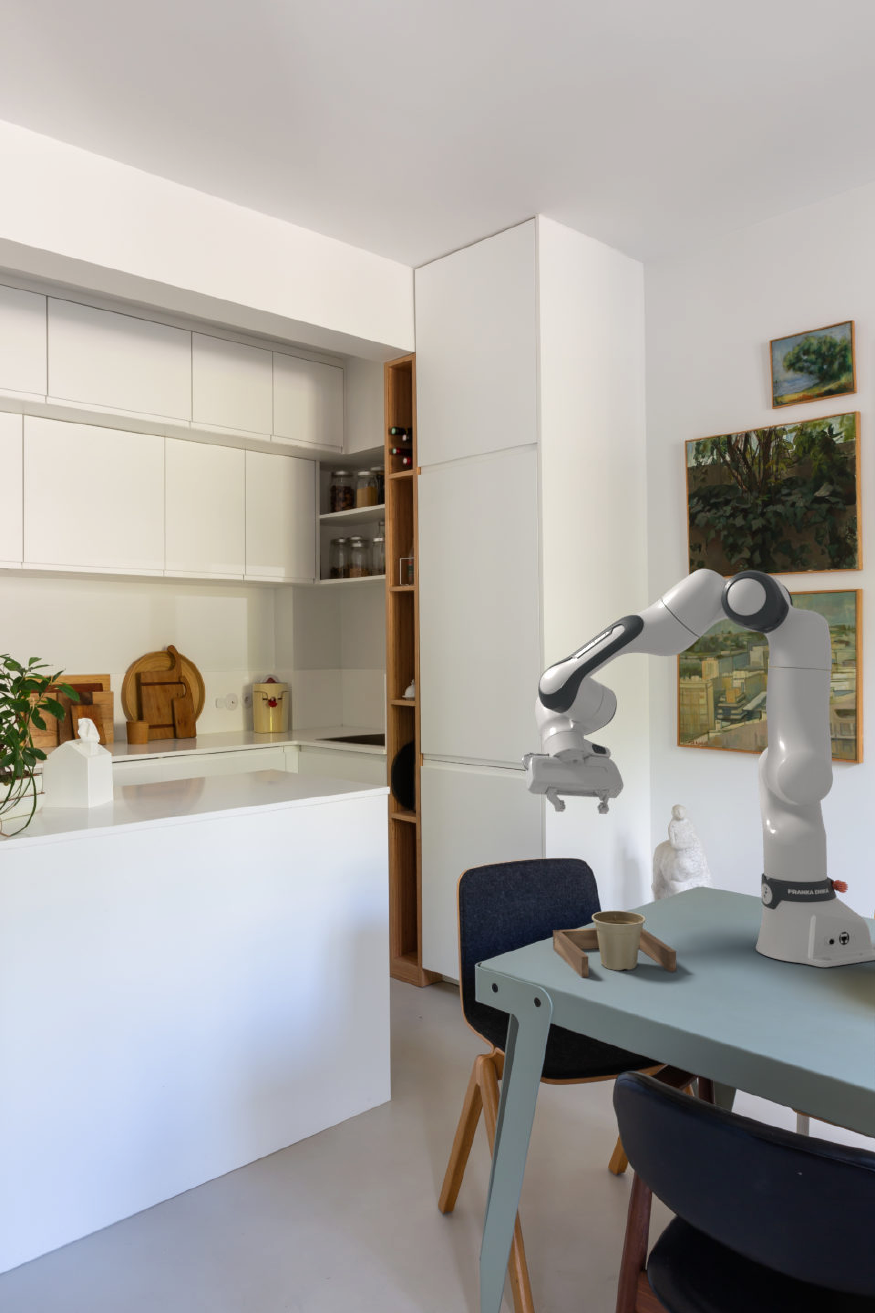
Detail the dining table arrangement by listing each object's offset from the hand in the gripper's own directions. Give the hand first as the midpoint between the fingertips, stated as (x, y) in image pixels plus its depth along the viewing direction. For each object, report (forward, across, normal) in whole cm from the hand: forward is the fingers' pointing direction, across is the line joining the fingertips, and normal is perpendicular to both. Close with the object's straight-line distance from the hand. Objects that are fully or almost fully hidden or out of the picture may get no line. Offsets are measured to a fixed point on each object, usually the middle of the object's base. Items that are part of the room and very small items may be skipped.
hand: (582, 811), depth 183 cm
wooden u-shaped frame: (+28, +1, +7) cm, 29 cm away
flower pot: (+30, +1, +4) cm, 31 cm away
